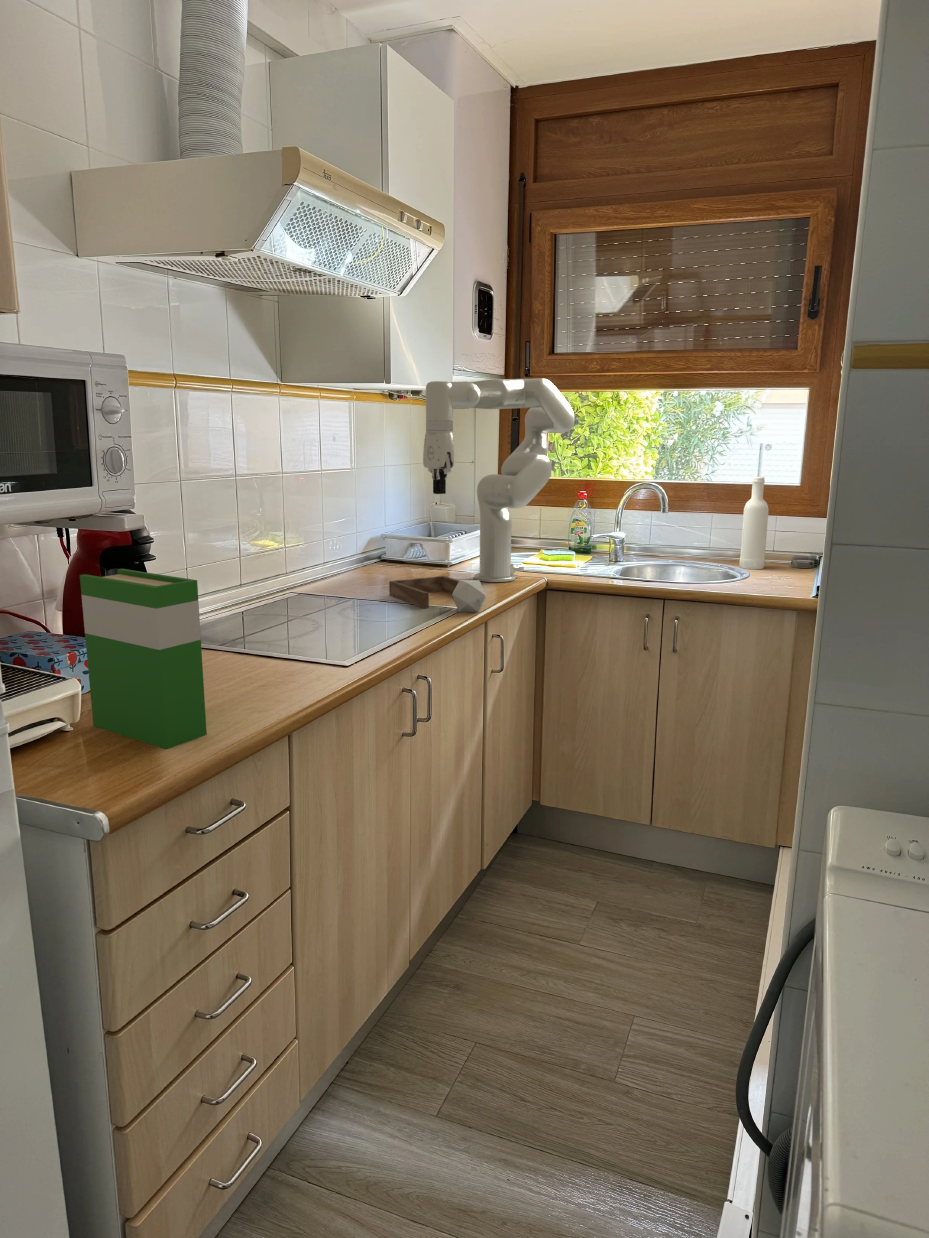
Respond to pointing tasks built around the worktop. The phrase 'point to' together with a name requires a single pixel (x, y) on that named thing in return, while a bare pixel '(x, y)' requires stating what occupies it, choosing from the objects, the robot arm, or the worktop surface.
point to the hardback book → (145, 656)
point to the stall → (421, 589)
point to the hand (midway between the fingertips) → (439, 493)
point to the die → (469, 596)
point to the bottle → (754, 528)
